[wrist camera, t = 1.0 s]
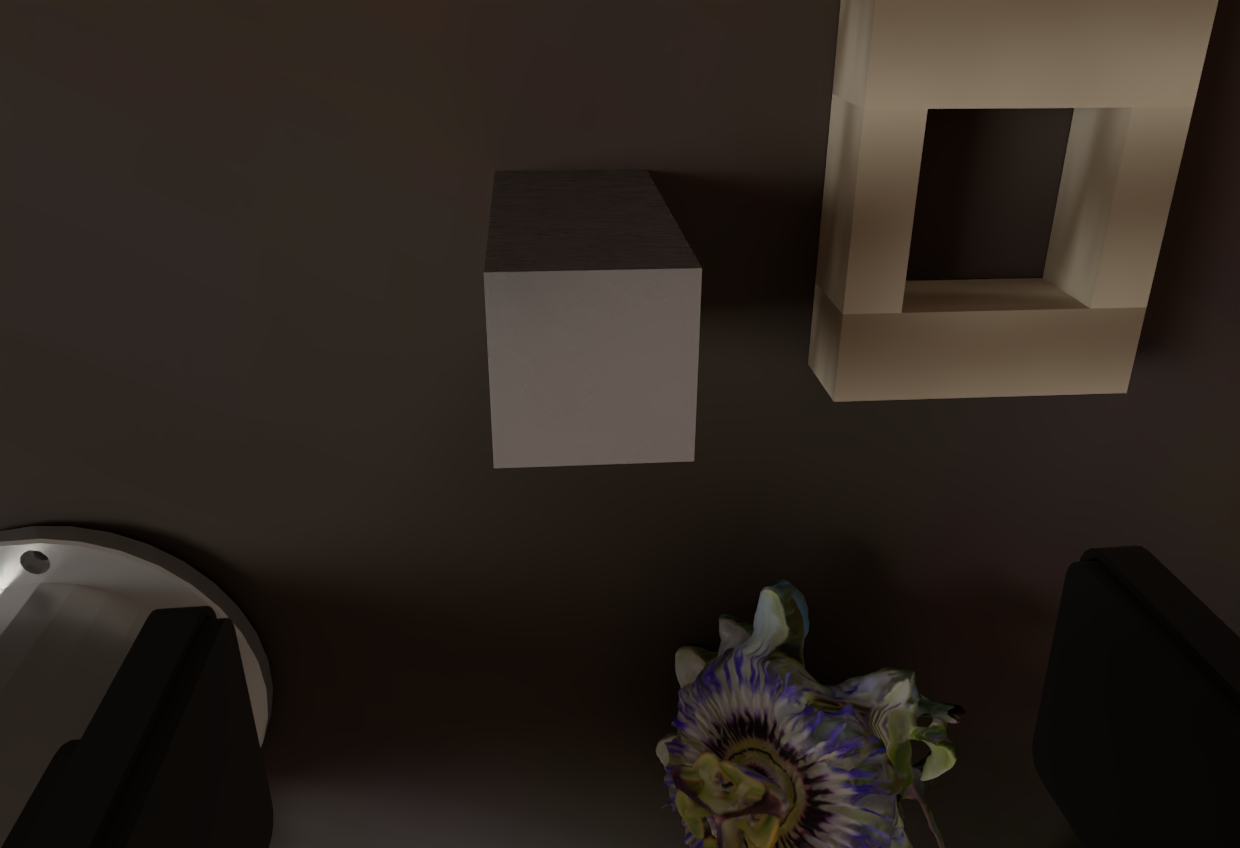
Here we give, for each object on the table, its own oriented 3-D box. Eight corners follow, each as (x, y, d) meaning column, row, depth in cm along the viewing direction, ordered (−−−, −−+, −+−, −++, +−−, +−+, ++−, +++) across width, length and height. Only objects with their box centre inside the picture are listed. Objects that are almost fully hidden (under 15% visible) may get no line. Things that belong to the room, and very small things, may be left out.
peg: (644, 314, 32) (693, 461, 23) (501, 316, 31) (494, 468, 22) (646, 169, 30) (702, 268, 21) (494, 171, 29) (483, 272, 20)
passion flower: (677, 576, 42) (695, 560, 31) (940, 619, 42) (1061, 619, 30) (633, 861, 40) (635, 962, 29) (910, 910, 40) (1027, 1033, 28)
